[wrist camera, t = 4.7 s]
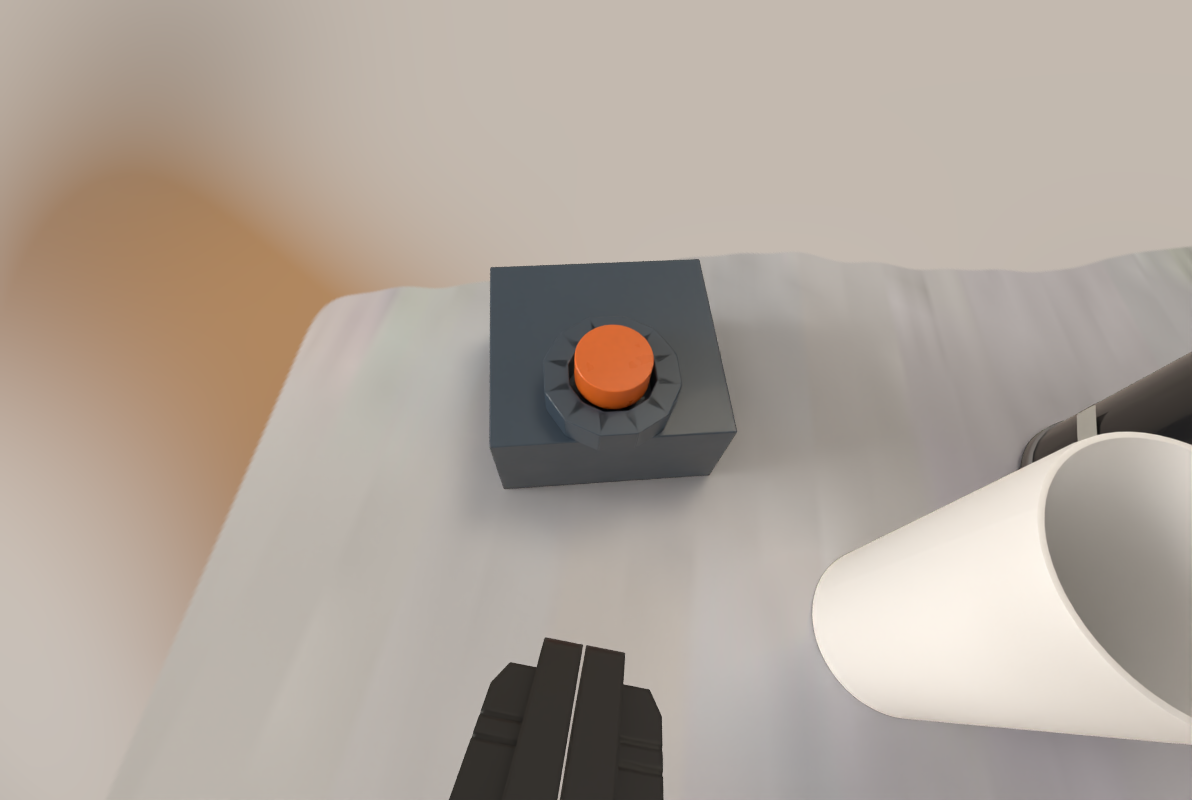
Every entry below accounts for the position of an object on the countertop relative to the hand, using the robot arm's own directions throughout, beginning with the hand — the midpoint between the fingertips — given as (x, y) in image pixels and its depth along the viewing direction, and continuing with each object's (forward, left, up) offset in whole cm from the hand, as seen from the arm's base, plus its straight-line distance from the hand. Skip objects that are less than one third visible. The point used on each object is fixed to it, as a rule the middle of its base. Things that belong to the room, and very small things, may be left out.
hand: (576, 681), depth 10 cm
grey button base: (-3, -16, -19) cm, 25 cm away
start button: (-3, -13, -11) cm, 18 cm away
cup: (-17, -1, -19) cm, 25 cm away
